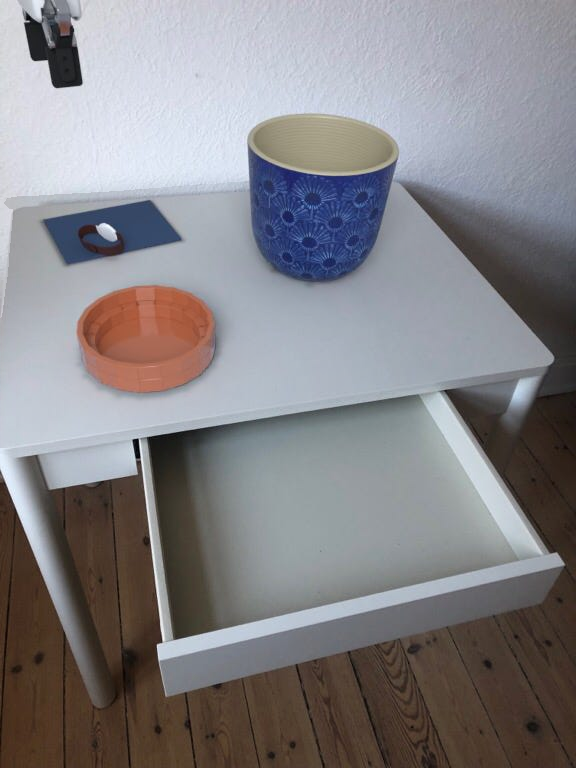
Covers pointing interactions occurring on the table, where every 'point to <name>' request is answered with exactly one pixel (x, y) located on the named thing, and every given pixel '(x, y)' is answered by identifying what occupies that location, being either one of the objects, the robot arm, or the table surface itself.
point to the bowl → (146, 338)
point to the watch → (105, 232)
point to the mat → (130, 221)
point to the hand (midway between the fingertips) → (56, 72)
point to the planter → (318, 192)
